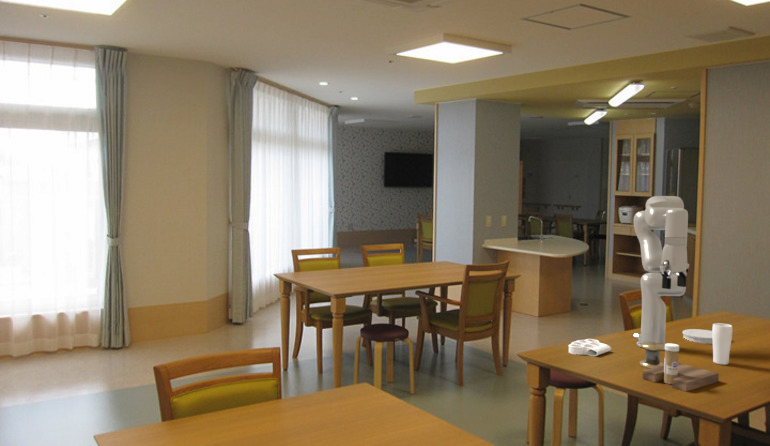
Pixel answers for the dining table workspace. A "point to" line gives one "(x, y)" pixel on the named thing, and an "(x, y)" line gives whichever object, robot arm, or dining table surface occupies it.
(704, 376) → the notched board
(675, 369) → the sprinkles bottle
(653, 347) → the bobbin
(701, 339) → the lid
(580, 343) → the knuckle duster
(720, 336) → the drinking glass
